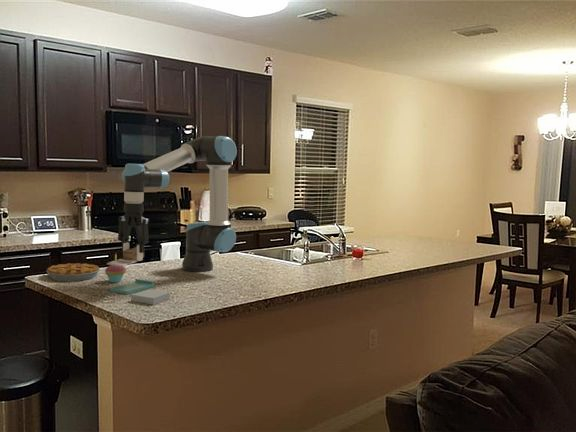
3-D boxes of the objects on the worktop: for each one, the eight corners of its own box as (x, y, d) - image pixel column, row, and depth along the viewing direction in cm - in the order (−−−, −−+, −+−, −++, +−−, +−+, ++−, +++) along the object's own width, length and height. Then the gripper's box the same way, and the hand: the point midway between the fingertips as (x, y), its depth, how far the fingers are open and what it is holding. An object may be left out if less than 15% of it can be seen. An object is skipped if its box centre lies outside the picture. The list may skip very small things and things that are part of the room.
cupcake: (104, 279, 229) (105, 252, 228) (125, 278, 232) (125, 251, 231) (105, 283, 221) (105, 255, 220) (126, 283, 224) (127, 255, 223)
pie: (95, 270, 247) (95, 260, 246) (103, 280, 228) (103, 269, 227) (44, 273, 236) (44, 262, 236) (47, 283, 217) (47, 271, 217)
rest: (136, 283, 223) (136, 278, 223) (154, 286, 219) (154, 281, 219) (109, 291, 208) (109, 285, 208) (127, 294, 205) (127, 288, 205)
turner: (132, 256, 222) (132, 246, 222) (147, 257, 221) (148, 248, 221) (106, 264, 201) (107, 254, 200) (124, 266, 200) (124, 255, 199)
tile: (148, 289, 204) (131, 294, 195) (169, 292, 201) (153, 298, 191) (148, 296, 205) (131, 301, 195) (169, 299, 201) (153, 305, 192)
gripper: (159, 203, 210) (158, 261, 212) (121, 200, 218) (120, 255, 220) (147, 204, 203) (145, 263, 206) (108, 201, 211) (107, 258, 213)
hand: (132, 259), depth 213 cm, fingers closed on turner, 6 cm apart
